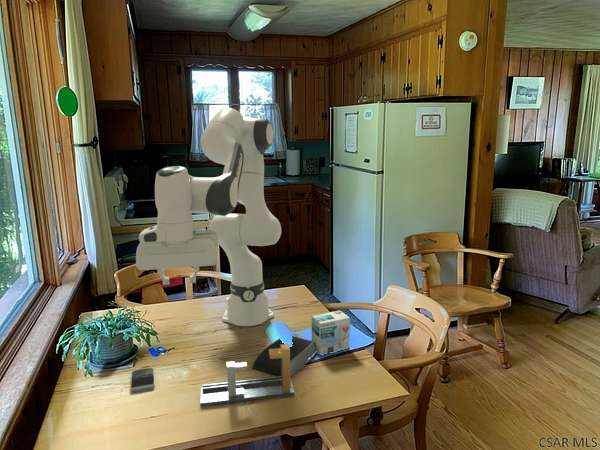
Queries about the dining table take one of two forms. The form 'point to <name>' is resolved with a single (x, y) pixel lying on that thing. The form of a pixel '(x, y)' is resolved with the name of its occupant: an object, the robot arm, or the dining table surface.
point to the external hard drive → (297, 357)
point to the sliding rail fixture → (254, 385)
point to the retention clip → (234, 378)
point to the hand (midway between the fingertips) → (179, 283)
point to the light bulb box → (331, 331)
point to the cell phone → (142, 380)
